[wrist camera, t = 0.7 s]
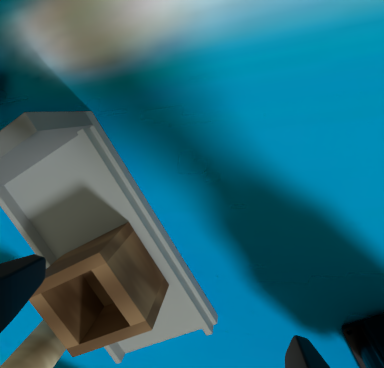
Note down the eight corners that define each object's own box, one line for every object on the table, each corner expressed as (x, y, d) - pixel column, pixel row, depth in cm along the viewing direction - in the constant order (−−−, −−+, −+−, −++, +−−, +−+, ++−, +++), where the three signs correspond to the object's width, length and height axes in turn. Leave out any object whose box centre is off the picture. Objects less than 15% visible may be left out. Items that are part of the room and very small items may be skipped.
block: (169, 285, 23) (152, 330, 18) (103, 311, 25) (72, 357, 21) (128, 221, 22) (99, 252, 17) (63, 254, 24) (21, 290, 19)
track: (217, 315, 25) (211, 391, 18) (121, 347, 28) (86, 421, 21) (91, 111, 21) (24, 111, 14) (-2, 176, 24) (-91, 201, 18)
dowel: (92, 321, 28) (28, 416, 19) (68, 330, 28) (-3, 424, 20) (73, 295, 27) (-2, 381, 18) (50, 305, 28) (-32, 391, 19)
